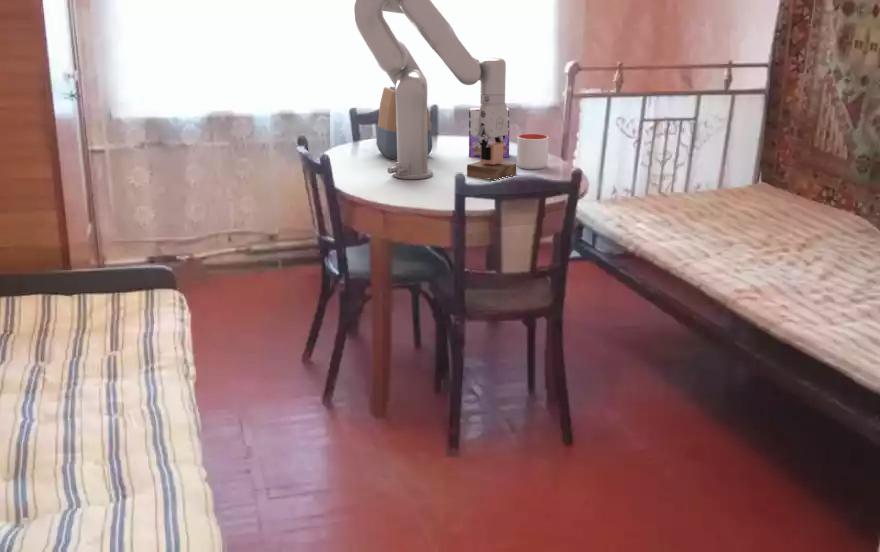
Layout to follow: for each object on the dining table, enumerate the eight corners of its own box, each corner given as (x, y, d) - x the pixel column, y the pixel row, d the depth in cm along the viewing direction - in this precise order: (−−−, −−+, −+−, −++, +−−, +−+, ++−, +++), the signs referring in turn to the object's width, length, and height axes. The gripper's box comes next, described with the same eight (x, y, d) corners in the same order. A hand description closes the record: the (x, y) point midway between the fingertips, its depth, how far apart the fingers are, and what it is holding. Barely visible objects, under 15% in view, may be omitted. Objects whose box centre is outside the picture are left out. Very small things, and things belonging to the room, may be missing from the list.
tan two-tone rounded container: (435, 158, 322) (435, 89, 315) (389, 162, 316) (387, 92, 309) (418, 149, 337) (417, 83, 330) (373, 153, 331) (372, 86, 324)
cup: (528, 162, 315) (528, 132, 312) (553, 166, 309) (554, 136, 306) (510, 167, 308) (511, 137, 304) (536, 171, 302) (537, 140, 298)
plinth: (495, 180, 290) (495, 169, 288) (467, 175, 296) (467, 164, 295) (516, 174, 298) (516, 163, 296) (488, 169, 304) (488, 159, 303)
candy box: (509, 154, 328) (510, 106, 323) (508, 157, 322) (509, 109, 317) (469, 153, 329) (469, 106, 324) (468, 157, 324) (468, 108, 319)
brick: (493, 164, 292) (493, 145, 290) (480, 162, 295) (480, 143, 293) (502, 162, 296) (503, 143, 294) (490, 160, 299) (490, 141, 297)
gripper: (485, 103, 281) (484, 164, 287) (518, 97, 293) (517, 155, 299) (465, 101, 285) (465, 160, 291) (499, 95, 298) (498, 152, 304)
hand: (491, 157), depth 295 cm, fingers open, 5 cm apart
